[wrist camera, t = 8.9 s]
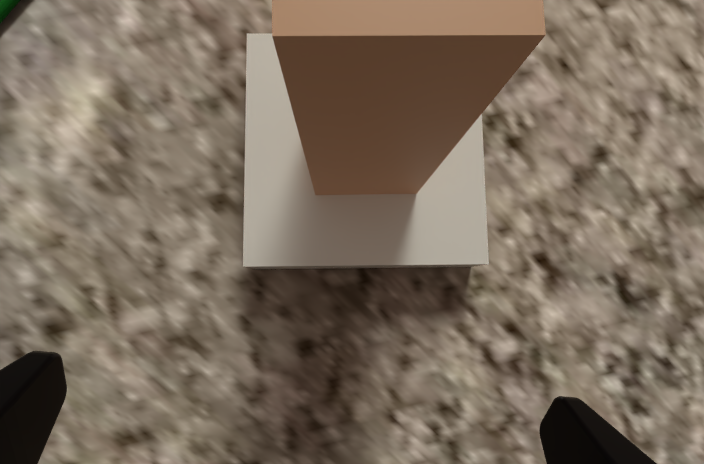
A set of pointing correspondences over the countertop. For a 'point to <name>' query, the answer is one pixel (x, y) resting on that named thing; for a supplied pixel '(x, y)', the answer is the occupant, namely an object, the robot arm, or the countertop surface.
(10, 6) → the flower
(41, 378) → the robot arm
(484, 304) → the countertop surface
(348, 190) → the block
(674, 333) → the countertop surface
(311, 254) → the plinth
